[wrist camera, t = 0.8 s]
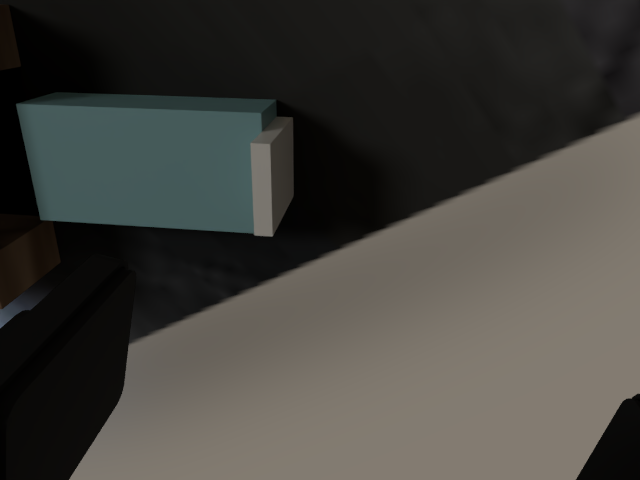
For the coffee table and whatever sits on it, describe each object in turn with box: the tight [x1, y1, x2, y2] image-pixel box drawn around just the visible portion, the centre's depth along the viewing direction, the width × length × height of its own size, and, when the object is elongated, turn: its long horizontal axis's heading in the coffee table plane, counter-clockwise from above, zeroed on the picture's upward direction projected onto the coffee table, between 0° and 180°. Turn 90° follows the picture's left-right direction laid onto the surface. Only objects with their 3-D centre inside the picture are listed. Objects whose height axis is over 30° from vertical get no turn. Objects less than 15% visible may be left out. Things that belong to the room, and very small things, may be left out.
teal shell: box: [16, 92, 294, 237], centre depth 32 cm, size 15×7×6 cm, turn 89°
